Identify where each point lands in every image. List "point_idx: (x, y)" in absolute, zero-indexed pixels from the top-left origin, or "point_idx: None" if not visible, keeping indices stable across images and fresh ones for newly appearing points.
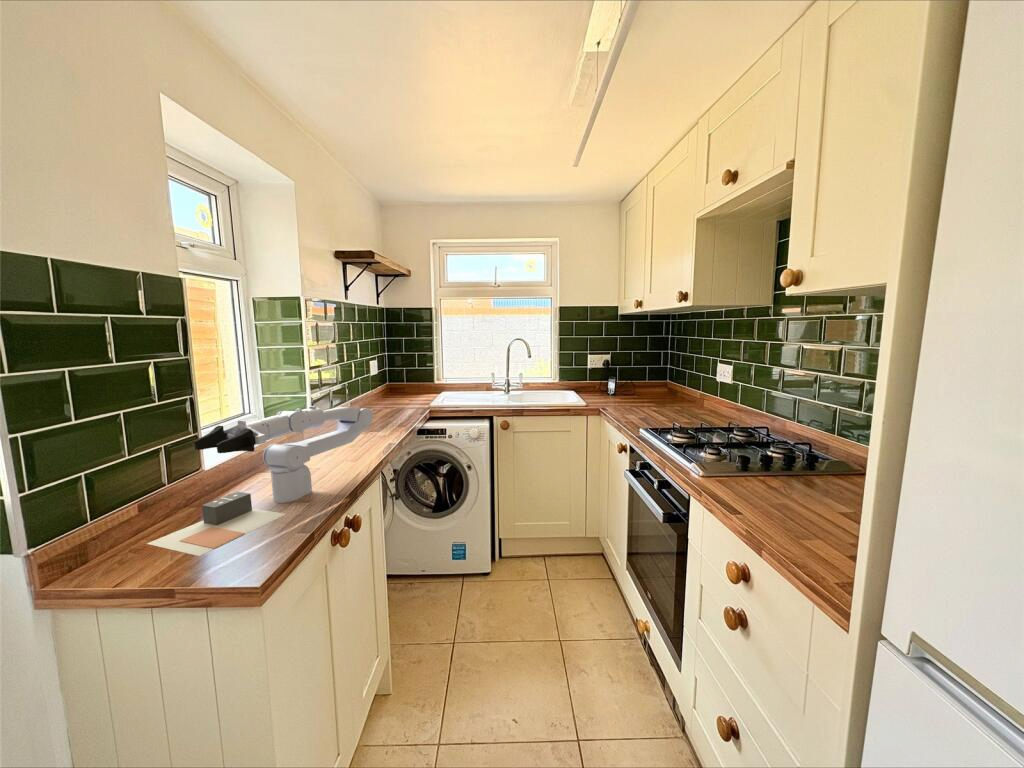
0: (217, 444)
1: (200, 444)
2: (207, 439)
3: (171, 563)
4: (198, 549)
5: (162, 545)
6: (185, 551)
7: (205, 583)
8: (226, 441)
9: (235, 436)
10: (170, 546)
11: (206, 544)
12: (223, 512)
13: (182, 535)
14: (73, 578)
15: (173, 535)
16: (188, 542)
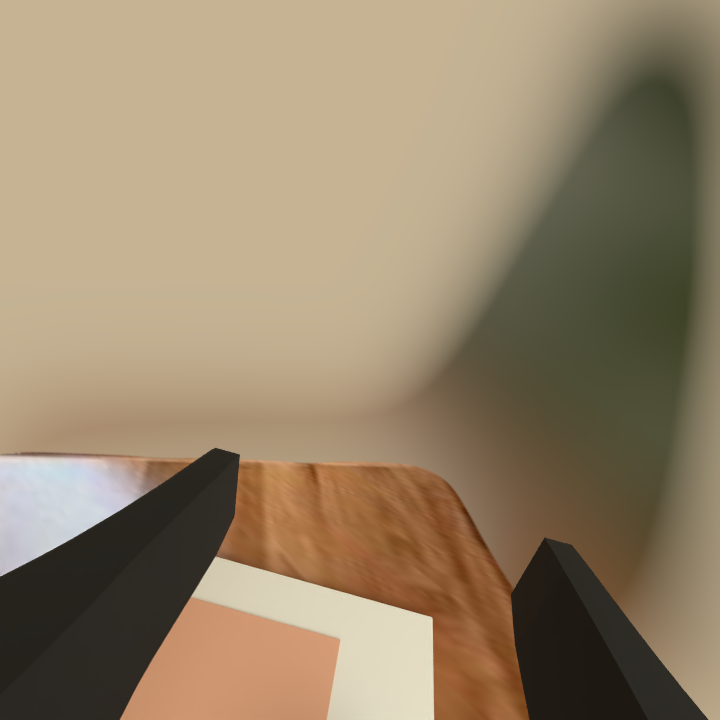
0: (224, 451)
1: (536, 602)
2: (590, 688)
3: (266, 541)
4: (226, 588)
5: (368, 607)
6: (260, 575)
7: (115, 468)
8: (155, 490)
9: (54, 585)
10: (336, 603)
11: (216, 615)
12: None
13: (373, 690)
14: (425, 490)
15: (407, 687)
16: (294, 626)
